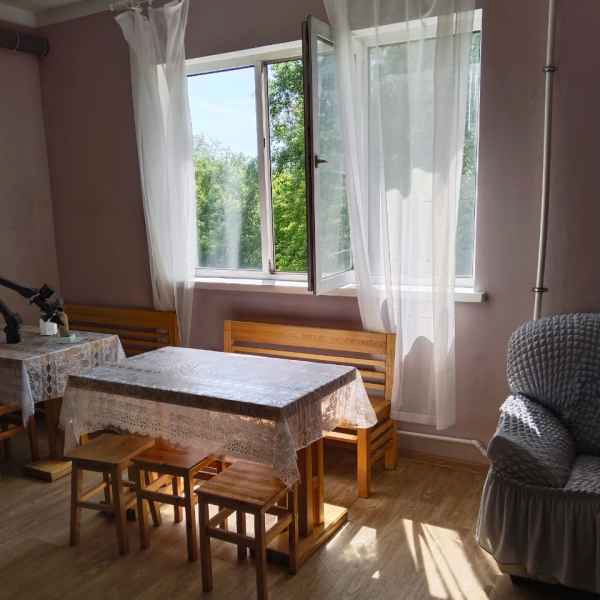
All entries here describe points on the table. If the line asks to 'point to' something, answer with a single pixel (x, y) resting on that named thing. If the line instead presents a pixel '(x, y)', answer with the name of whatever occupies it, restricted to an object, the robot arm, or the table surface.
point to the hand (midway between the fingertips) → (66, 324)
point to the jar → (47, 326)
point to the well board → (65, 339)
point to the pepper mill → (64, 329)
